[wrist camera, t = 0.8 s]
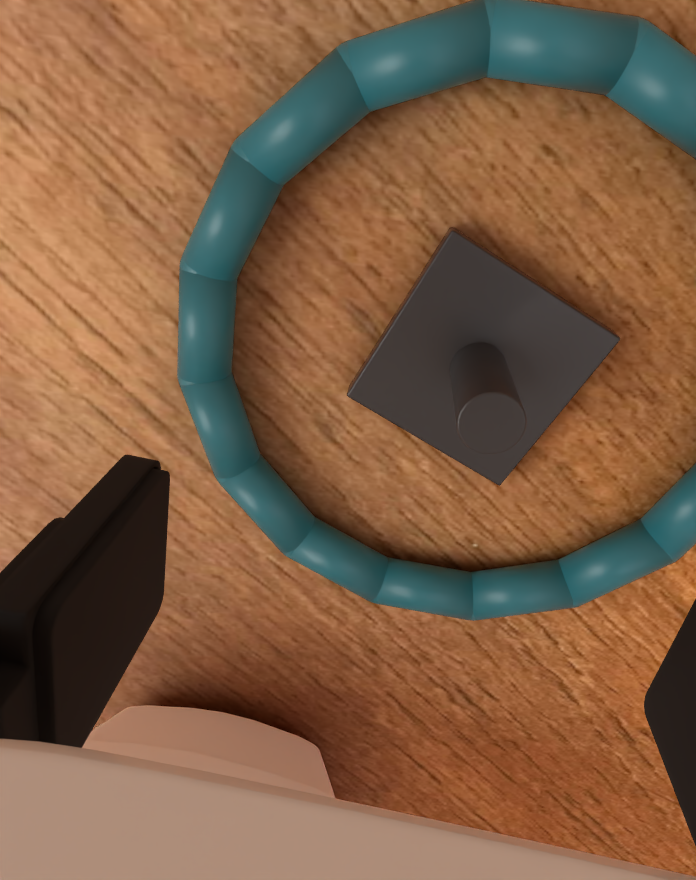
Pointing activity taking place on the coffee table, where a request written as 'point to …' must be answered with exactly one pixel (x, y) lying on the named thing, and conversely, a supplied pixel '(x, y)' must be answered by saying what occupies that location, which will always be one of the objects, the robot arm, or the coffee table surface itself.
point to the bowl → (214, 746)
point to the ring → (302, 140)
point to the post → (480, 358)
